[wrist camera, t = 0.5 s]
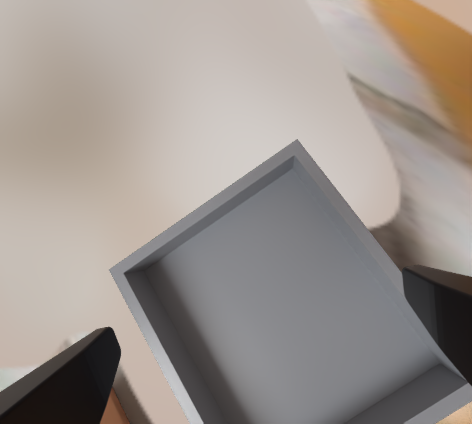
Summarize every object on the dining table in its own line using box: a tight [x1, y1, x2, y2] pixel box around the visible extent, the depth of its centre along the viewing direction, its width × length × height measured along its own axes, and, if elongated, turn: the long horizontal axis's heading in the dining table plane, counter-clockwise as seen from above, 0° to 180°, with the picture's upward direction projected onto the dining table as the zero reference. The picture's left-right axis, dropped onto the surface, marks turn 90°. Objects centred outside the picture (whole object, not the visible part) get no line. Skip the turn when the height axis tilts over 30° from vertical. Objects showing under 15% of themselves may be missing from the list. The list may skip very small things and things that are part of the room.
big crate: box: [109, 139, 472, 424], centre depth 20 cm, size 18×16×4 cm
